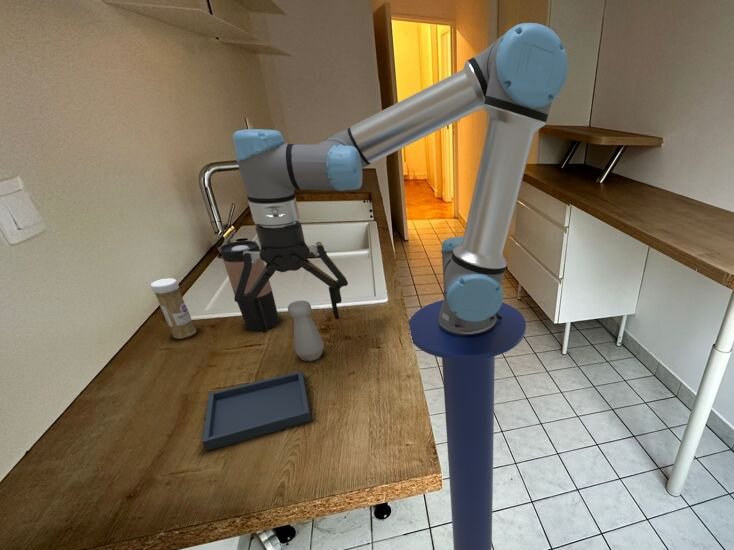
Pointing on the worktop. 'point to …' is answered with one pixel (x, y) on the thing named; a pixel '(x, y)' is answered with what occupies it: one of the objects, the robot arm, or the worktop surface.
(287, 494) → the worktop surface
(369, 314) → the worktop surface
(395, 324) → the worktop surface
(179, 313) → the sprinkles bottle
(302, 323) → the salt shaker
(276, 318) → the travel mug
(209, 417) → the tray
